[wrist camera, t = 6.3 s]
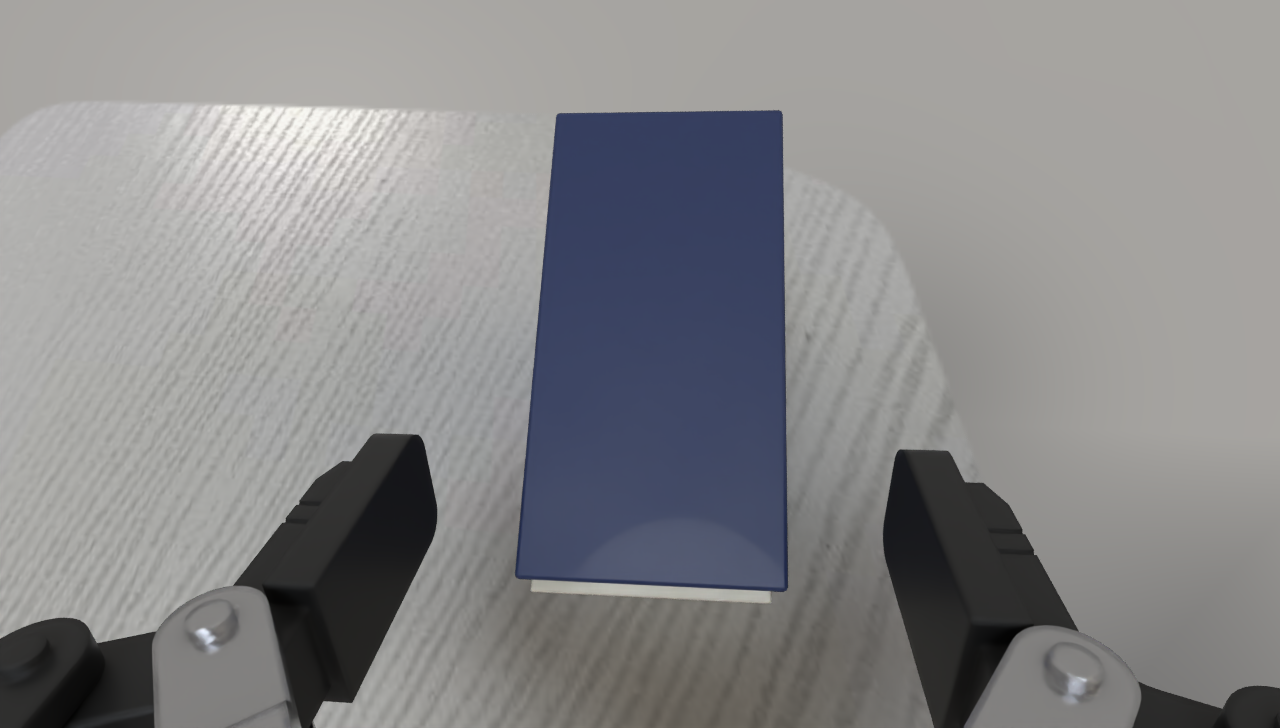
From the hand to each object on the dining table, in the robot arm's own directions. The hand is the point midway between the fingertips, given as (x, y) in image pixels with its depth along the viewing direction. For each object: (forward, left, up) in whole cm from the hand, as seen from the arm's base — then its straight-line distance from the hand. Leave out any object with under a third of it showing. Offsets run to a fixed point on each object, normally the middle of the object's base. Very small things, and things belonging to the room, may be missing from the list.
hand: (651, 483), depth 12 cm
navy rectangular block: (0, -3, -12) cm, 12 cm away
